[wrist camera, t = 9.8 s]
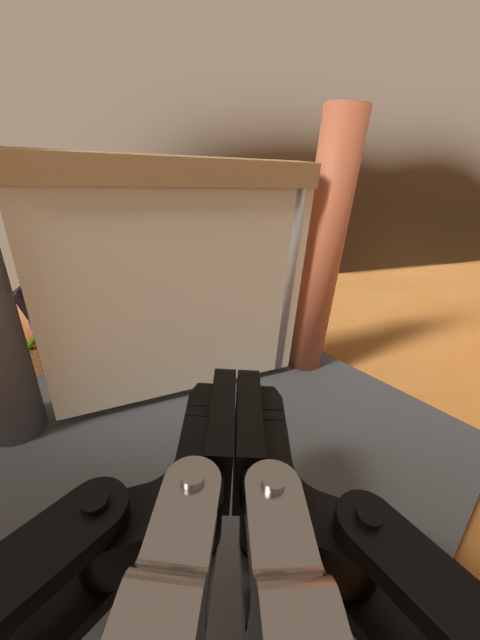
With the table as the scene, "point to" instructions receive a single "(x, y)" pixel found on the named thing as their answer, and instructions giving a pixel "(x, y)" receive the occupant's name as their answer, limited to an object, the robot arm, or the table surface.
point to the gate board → (291, 382)
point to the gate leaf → (154, 267)
